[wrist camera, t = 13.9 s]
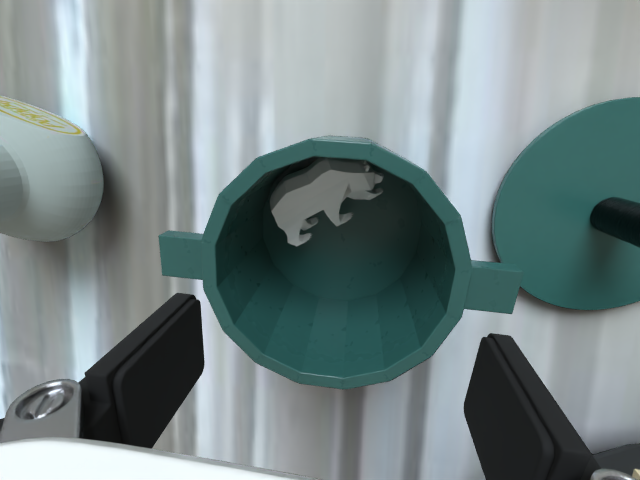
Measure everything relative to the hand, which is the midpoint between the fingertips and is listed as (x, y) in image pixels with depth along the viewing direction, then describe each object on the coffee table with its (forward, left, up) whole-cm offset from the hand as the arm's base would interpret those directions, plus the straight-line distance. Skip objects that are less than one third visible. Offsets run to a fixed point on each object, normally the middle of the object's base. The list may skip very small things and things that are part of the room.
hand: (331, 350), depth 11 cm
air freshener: (-3, -24, -16) cm, 28 cm away
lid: (-3, +17, -15) cm, 23 cm away
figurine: (-1, -1, -14) cm, 14 cm away
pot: (0, -1, -16) cm, 16 cm away
